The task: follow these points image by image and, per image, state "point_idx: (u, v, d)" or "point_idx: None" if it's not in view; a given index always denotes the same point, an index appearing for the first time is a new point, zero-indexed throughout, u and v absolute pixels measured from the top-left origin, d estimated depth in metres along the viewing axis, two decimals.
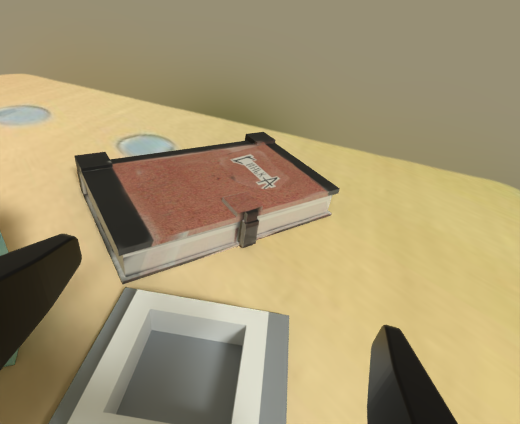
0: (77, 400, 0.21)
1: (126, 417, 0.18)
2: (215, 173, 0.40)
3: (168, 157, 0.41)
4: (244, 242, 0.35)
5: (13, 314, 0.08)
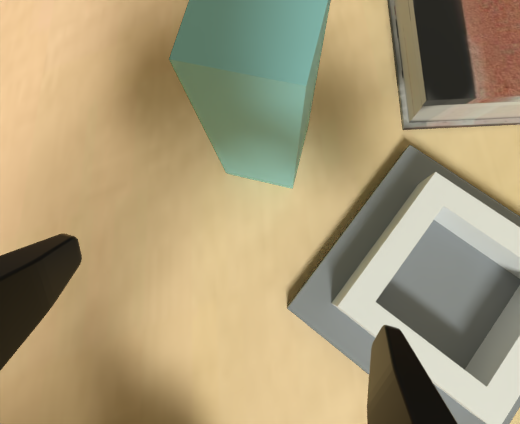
0: (343, 257, 0.22)
1: (394, 317, 0.19)
2: None
3: None
4: None
5: (13, 314, 0.08)
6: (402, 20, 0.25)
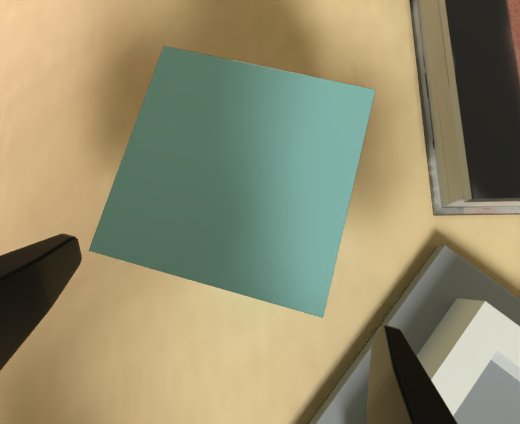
0: (359, 396, 0.17)
1: None
2: None
3: None
4: None
5: (13, 314, 0.08)
6: (434, 77, 0.20)
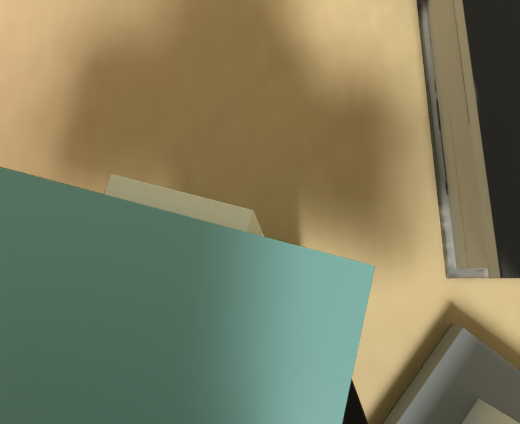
0: None
1: None
2: None
3: None
4: None
5: None
6: (449, 107, 0.16)
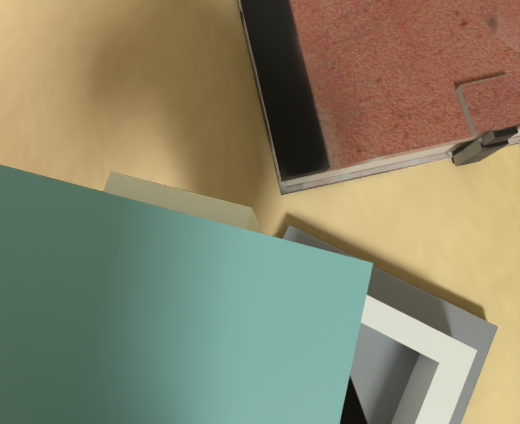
0: None
1: None
2: (461, 5, 0.21)
3: None
4: (463, 162, 0.22)
5: None
6: None
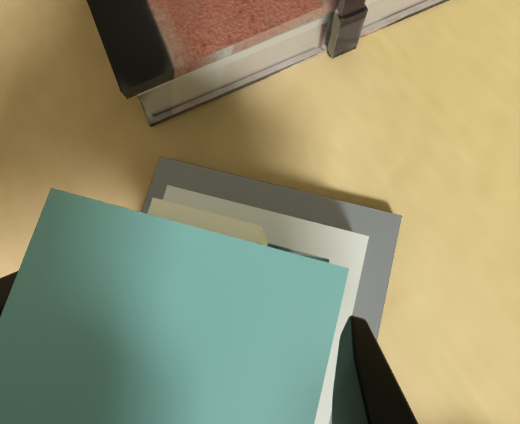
0: None
1: None
2: None
3: None
4: (335, 50, 0.20)
5: None
6: None
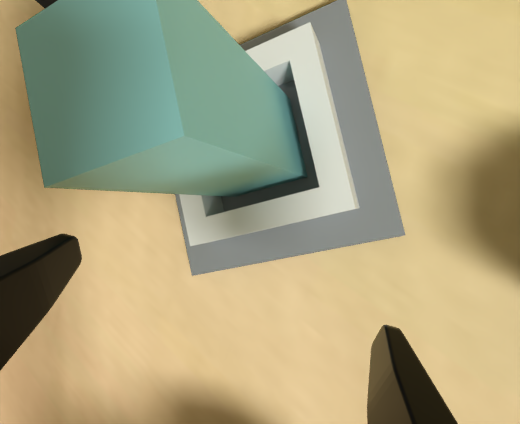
0: None
1: (225, 212, 0.19)
2: None
3: None
4: None
5: (13, 314, 0.08)
6: None
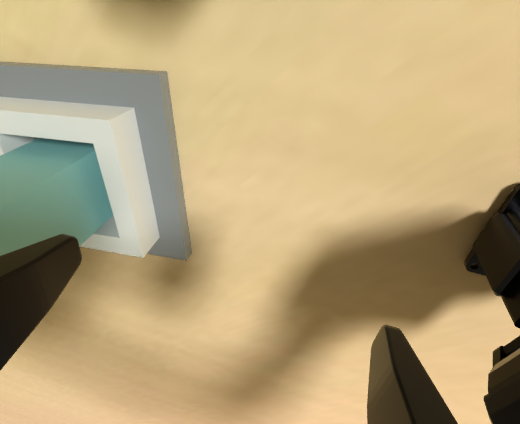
0: None
1: (116, 222, 0.23)
2: None
3: None
4: None
5: (13, 314, 0.08)
6: None
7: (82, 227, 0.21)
